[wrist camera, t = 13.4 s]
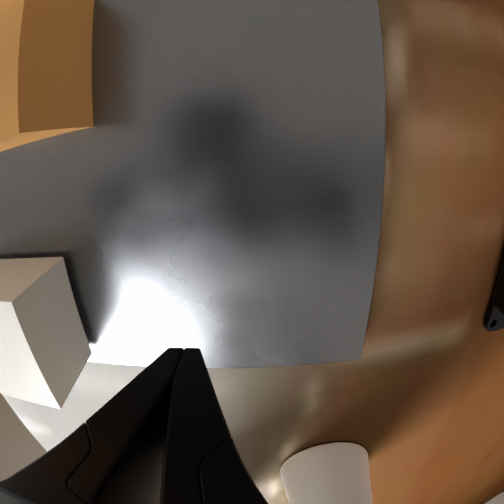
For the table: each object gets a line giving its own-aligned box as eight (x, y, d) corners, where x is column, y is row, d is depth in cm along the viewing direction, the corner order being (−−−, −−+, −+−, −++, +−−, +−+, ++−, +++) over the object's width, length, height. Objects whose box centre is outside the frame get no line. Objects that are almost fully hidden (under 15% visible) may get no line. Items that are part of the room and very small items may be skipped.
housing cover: (63, 256, 10) (11, 302, 7) (92, 353, 12) (60, 409, 9) (-18, 259, 10) (-66, 294, 7) (11, 342, 12) (-23, 385, 9)
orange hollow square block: (94, -4, 7) (34, -46, 3) (93, 127, 9) (19, 132, 5) (-7, 40, 7) (-74, 30, 3) (-7, 154, 9) (-79, 174, 5)
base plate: (362, -15, 8) (443, -94, 2) (352, 342, 14) (398, 453, 8) (-36, 60, 8) (-127, 60, 2) (10, 335, 14) (-47, 407, 8)
